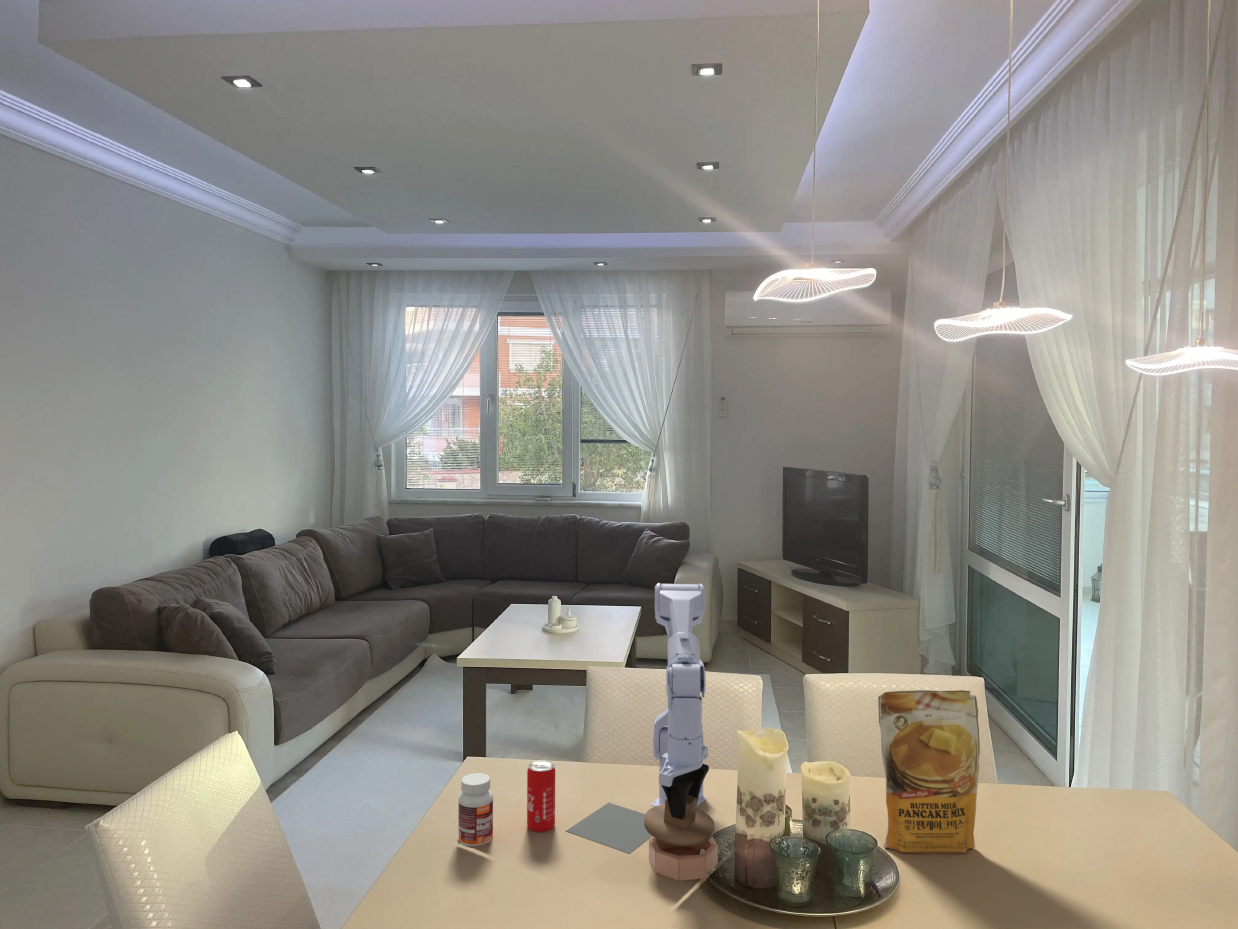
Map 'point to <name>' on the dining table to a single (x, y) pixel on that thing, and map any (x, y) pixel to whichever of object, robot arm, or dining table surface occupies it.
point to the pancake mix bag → (930, 769)
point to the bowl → (683, 859)
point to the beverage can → (541, 796)
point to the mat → (613, 828)
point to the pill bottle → (475, 810)
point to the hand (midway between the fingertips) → (683, 812)
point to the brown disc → (679, 824)
